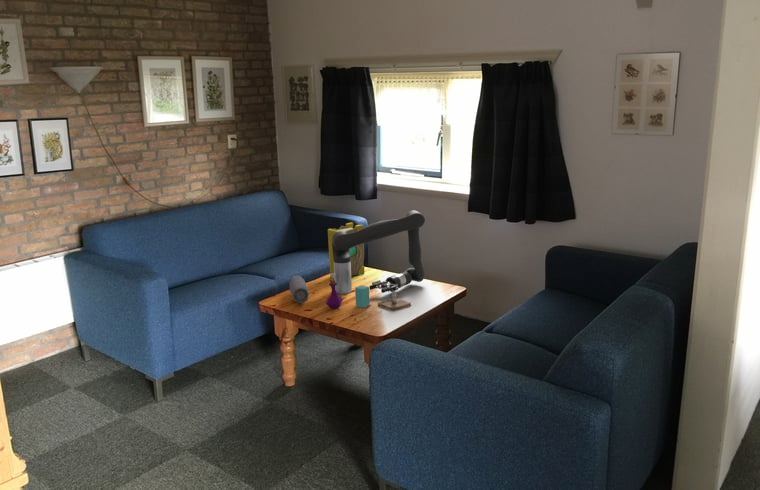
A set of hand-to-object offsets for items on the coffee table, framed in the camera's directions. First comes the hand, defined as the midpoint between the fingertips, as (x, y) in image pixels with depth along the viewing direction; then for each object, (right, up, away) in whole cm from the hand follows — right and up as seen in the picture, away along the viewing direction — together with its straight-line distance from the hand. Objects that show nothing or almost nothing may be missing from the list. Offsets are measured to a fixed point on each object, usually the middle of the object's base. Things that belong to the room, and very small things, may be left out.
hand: (375, 289), depth 343 cm
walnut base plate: (+10, -8, -7) cm, 14 cm away
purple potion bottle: (-21, -9, -7) cm, 24 cm away
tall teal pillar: (-7, -8, -6) cm, 12 cm away
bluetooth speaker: (-41, -6, +9) cm, 42 cm away
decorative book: (-17, +5, +47) cm, 51 cm away
